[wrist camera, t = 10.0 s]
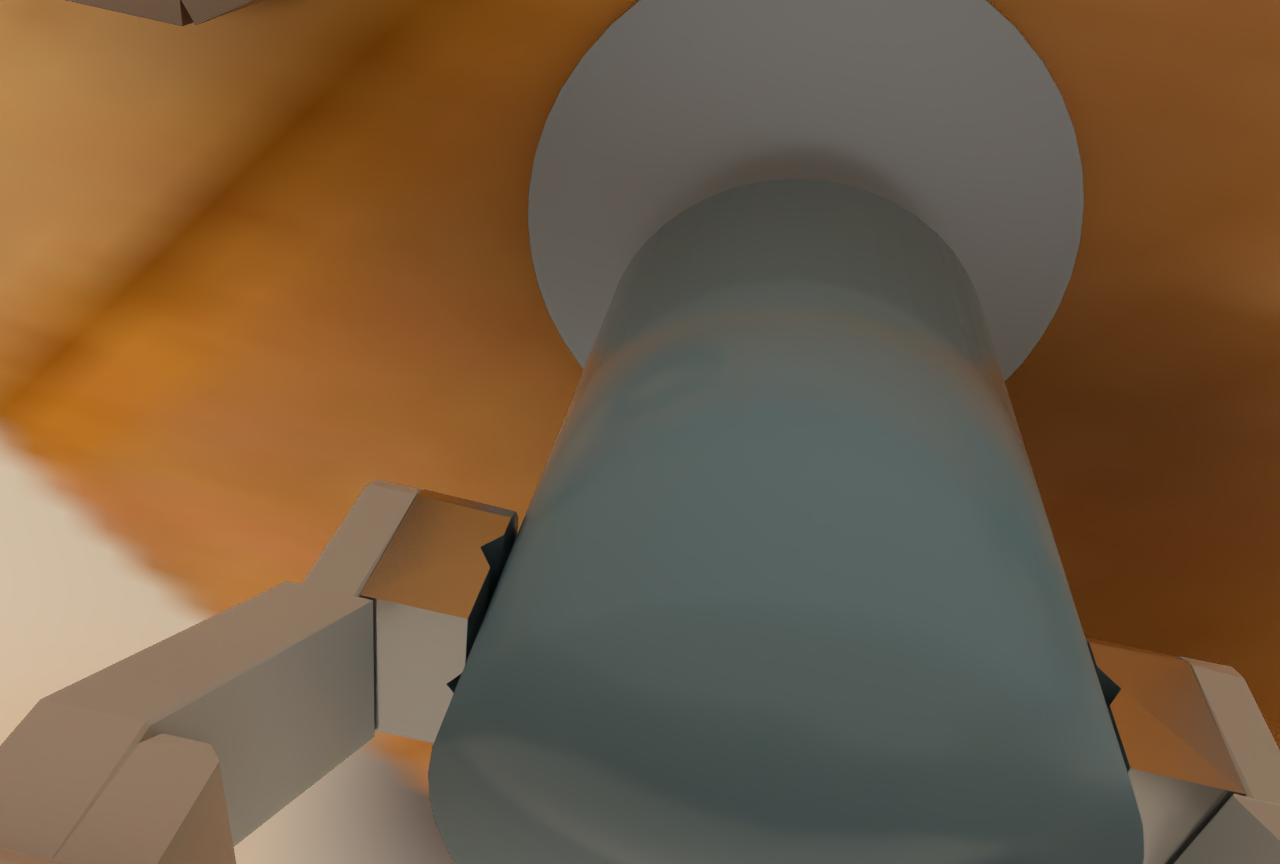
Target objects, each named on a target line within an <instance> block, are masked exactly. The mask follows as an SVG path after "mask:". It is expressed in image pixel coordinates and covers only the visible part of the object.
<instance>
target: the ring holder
mask: <svg viewBox="0 0 1280 864" xmlns="http://www.w3.org/2000/svg"><path fill="white" fill-rule="evenodd" d="M67 1H71V2H76V3H80V4H85V5H89V6H94V7H98V8H103V9H107V10H112V11H116V12H121V13H125V14H130V15H134V16H138V17H143V18H147V19H152V20H156V21H161V22H165V23H170V24H174V25H179V26H185V25H187V24H190V23H193V22H194V24H195V25H198V24H200V23H203V22H206V21H208V20H211V19H214V18H216V17H219V16H222V15H224V14H227V13H230V12H232V11H235V10H238V9H240V8H243V7H245V6H248V5H251V4H253V3H256V2H259V1H261V0H67Z"/></svg>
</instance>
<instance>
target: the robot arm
mask: <svg viewBox="0 0 1280 864" xmlns="http://www.w3.org/2000/svg"><path fill="white" fill-rule="evenodd" d="M517 530H518V515H517V513H516V512H515V511H511V510H507V509H503V508H499V507H494V506H490V505H486V504H482V503H478V502H474V501H470V500H466V499H462V498H458V497H454V496H449V495H445V494H441V493H437V492H433V491H429V490H425V489H424V490H420V489H417V488H413V487H409V486H405V485H401V484H396V483H392V482H388V481H384V480H380V479H376V480H374V481H373V482H371V483H370V484H368V485H367V486H365V488H364V489H363V491H362V492H361V494H360V495H359V497H358V498H357V500H356V501H355V503H354V504H353V506H352V507H351V509H350V510H349V512H348V513H347V515H346V516H345V518H344V520H343V521H342V523H341V524H340V526H339V527H338V529H337V530H336V532H335V533H334V535H333V536H332V538H331V539H330V541H329V542H328V544H327V545H326V547H325V548H324V550H323V551H322V553H321V554H320V556H319V558H318V559H317V561H316V562H315V564H314V565H313V567H312V568H311V570H310V571H309V573H308V574H307V576H306V577H305V579H304V580H303V582H302V583H301V584H299V583H294V582H289V581H285V582H283V583H281V584H279V585H277V586H275V587H273V588H271V589H269V590H267V591H265V592H263V593H261V594H258V595H256V596H254V597H252V598H250V599H248V600H246V601H244V602H242V603H240V604H238V605H236V606H234V607H231V608H229V609H227V610H225V611H223V612H221V613H219V614H217V615H215V616H213V617H211V618H209V619H207V620H204V621H202V622H200V623H198V624H196V625H194V626H192V627H190V628H188V629H186V630H184V631H182V632H180V633H177V634H175V635H173V636H171V637H169V638H167V639H165V640H163V641H161V642H159V643H157V644H155V645H153V646H151V647H148V648H146V649H144V650H142V651H140V652H138V653H136V654H134V655H132V656H130V657H128V658H126V659H123V660H121V661H119V662H117V663H115V664H113V665H111V666H109V667H107V668H105V669H103V670H101V671H99V672H97V673H94V674H92V675H90V676H89V677H86V678H84V679H82V680H80V681H78V682H76V683H74V684H72V685H70V686H67V687H65V688H63V689H61V690H59V691H57V692H55V693H53V694H51V695H49V696H47V697H45V698H43V699H41V700H40V701H39V702H38V703H37V704H36V705H35V707H34V708H33V709H32V710H31V711H30V712H29V713H28V715H27V716H26V717H25V718H24V719H23V720H22V721H21V723H20V724H19V725H18V726H17V727H16V728H15V729H14V731H13V732H12V733H11V734H10V735H9V737H8V738H7V739H6V740H5V741H4V742H3V743H2V744H1V746H0V864H236V860H235V854H234V848H233V847H234V846H235V845H237V844H238V843H239V842H240V841H242V840H243V839H244V838H245V837H247V836H248V835H249V834H250V833H252V832H253V831H254V830H256V829H257V828H258V827H259V826H261V825H262V824H263V823H264V822H266V821H267V820H268V819H270V818H271V817H272V816H273V815H275V814H276V813H277V812H278V811H280V810H281V809H282V808H284V807H285V806H286V805H288V804H289V803H290V802H291V801H292V800H294V799H295V798H296V797H298V796H299V795H300V794H302V793H303V792H304V791H305V790H307V789H308V788H309V787H311V786H312V785H313V784H314V783H315V782H317V781H318V780H319V779H321V778H322V777H323V776H325V775H326V774H327V773H328V772H330V771H331V770H332V769H333V768H335V767H336V766H337V765H338V764H340V763H341V762H342V761H344V760H345V759H346V758H348V757H349V756H350V755H351V754H353V753H354V752H355V751H356V750H358V749H359V748H360V747H362V746H363V745H364V744H365V743H367V742H368V741H369V740H370V739H372V738H373V737H374V731H377V732H382V733H387V734H392V735H397V736H402V737H407V738H412V739H417V740H422V741H427V742H432V743H434V741H435V739H436V736H437V734H438V731H439V729H440V726H441V724H442V721H443V719H444V716H445V714H446V712H447V709H448V707H449V704H450V702H451V699H452V697H453V694H454V692H455V689H456V687H457V684H458V682H459V679H460V677H461V674H462V672H463V669H464V667H465V664H466V662H467V659H468V657H469V654H470V652H471V649H472V647H473V644H474V642H475V639H476V637H477V634H478V632H479V629H480V627H481V624H482V622H483V619H484V617H485V614H486V612H487V609H488V607H489V604H490V602H491V599H492V597H493V594H494V592H495V589H496V587H497V584H498V582H499V579H500V577H501V574H502V572H503V570H504V567H505V565H506V562H507V560H508V557H509V555H510V552H511V550H512V547H513V545H514V542H515V540H516V537H517ZM1085 639H1086V642H1087V645H1088V648H1089V651H1090V654H1091V658H1092V661H1093V664H1094V667H1095V670H1096V673H1097V677H1098V680H1099V683H1100V686H1101V689H1102V693H1103V696H1104V699H1105V702H1106V705H1107V708H1108V712H1109V715H1110V718H1111V721H1112V724H1113V727H1114V731H1115V734H1116V737H1117V740H1118V743H1119V747H1120V750H1121V753H1122V756H1123V759H1124V762H1125V766H1126V769H1127V772H1128V775H1129V778H1130V782H1131V785H1132V788H1133V791H1134V794H1135V798H1136V801H1137V805H1138V809H1139V813H1140V816H1141V820H1142V824H1143V832H1144V861H1143V864H1280V750H1279V748H1278V746H1277V744H1276V742H1275V740H1274V738H1273V736H1272V734H1271V732H1270V730H1269V728H1268V726H1267V724H1266V722H1265V720H1264V718H1263V716H1262V714H1261V712H1260V710H1259V707H1258V705H1257V703H1256V701H1255V699H1254V697H1253V695H1252V693H1251V691H1250V689H1249V687H1248V685H1247V683H1246V681H1245V679H1244V678H1243V676H1242V675H1241V674H1239V673H1238V672H1237V671H1236V670H1235V669H1234V668H1233V667H1231V666H1226V665H1221V664H1216V663H1211V662H1206V661H1201V660H1197V659H1192V658H1187V657H1182V656H1178V657H1175V656H1172V655H1168V654H1163V653H1158V652H1154V651H1149V650H1144V649H1140V648H1135V647H1130V646H1126V645H1121V644H1116V643H1111V642H1107V641H1102V640H1097V639H1093V638H1088V637H1085Z"/></svg>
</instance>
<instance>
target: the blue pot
mask: <svg viewBox="0 0 1280 864" xmlns="http://www.w3.org/2000/svg"><path fill="white" fill-rule="evenodd" d="M428 780H429V799H430V803H431V807H432V811H433V815H434V819H435V823H436V826H437V828H438V831H439V833H440V835H441V837H442V840H443V842H444V844H445V846H446V848H447V850H448V852H449V854H450V855H451V856H452V858H453V860H454V861H455V863H456V864H1143V861H1144V832H1143V824H1142V820H1141V816H1140V813H1139V809H1138V805H1137V801H1136V798H1135V794H1134V791H1133V788H1132V785H1131V782H1130V778H1129V775H1128V772H1127V769H1126V766H1125V762H1124V759H1123V756H1122V753H1121V750H1120V747H1119V743H1118V740H1117V737H1116V734H1115V731H1114V727H1113V724H1112V721H1111V718H1110V715H1109V712H1108V708H1107V705H1106V702H1105V699H1104V696H1103V693H1102V689H1101V686H1100V683H1099V680H1098V677H1097V673H1096V670H1095V667H1094V664H1093V661H1092V658H1091V654H1090V651H1089V648H1088V645H1087V642H1086V639H1085V635H1084V632H1083V629H1082V626H1081V623H1080V619H1079V616H1078V613H1077V610H1076V607H1075V604H1074V600H1073V597H1072V594H1071V591H1070V588H1069V585H1068V581H1067V578H1066V575H1065V572H1064V569H1063V565H1062V562H1061V559H1060V556H1059V553H1058V550H1057V546H1056V543H1055V540H1054V537H1053V534H1052V531H1051V527H1050V524H1049V521H1048V518H1047V515H1046V511H1045V508H1044V505H1043V502H1042V499H1041V496H1040V492H1039V489H1038V486H1037V483H1036V480H1035V477H1034V473H1033V470H1032V467H1031V464H1030V461H1029V457H1028V454H1027V451H1026V448H1025V445H1024V442H1023V438H1022V435H1021V432H1020V429H1019V426H1018V423H1017V419H1016V416H1015V413H1014V410H1013V407H1012V403H1011V400H1010V397H1009V394H1008V391H1007V388H1006V384H1005V381H1004V378H1003V375H1002V372H1001V369H1000V365H999V362H998V359H997V356H996V353H995V349H994V346H993V343H992V340H991V337H990V334H989V330H988V327H987V324H986V321H985V318H984V315H983V311H982V308H981V305H980V302H979V299H978V295H977V293H976V290H975V288H974V286H973V284H972V282H971V280H970V277H969V275H968V273H967V271H966V270H965V268H964V267H963V265H962V264H961V262H960V261H959V259H958V258H957V256H956V255H955V253H954V252H953V250H952V249H951V248H950V247H949V246H948V245H947V244H946V243H945V242H944V240H943V239H942V238H941V237H940V236H939V235H938V234H937V233H936V232H935V231H934V230H933V229H931V228H930V227H929V226H928V225H927V224H925V223H924V222H923V221H922V220H920V219H919V218H918V217H917V216H915V215H914V214H912V213H910V212H909V211H907V210H905V209H904V208H902V207H901V206H899V205H897V204H896V203H894V202H892V201H890V200H887V199H885V198H883V197H880V196H878V195H876V194H874V193H871V192H869V191H866V190H862V189H859V188H855V187H852V186H848V185H845V184H840V183H834V182H827V181H820V180H808V179H782V180H773V181H763V182H757V183H752V184H748V185H744V186H740V187H735V188H732V189H729V190H726V191H724V192H721V193H718V194H716V195H713V196H710V197H708V198H706V199H704V200H702V201H700V202H698V203H696V204H695V205H693V206H691V207H689V208H687V209H685V210H684V211H682V212H681V213H679V214H678V215H677V216H675V217H674V218H672V219H671V220H670V221H668V222H667V223H665V224H664V225H663V226H662V227H661V228H660V229H659V230H658V231H657V232H656V233H655V234H653V235H652V236H651V237H650V238H649V239H648V240H647V241H646V242H645V244H644V245H643V246H642V247H641V249H640V250H639V251H638V252H637V254H636V255H635V256H634V257H633V259H632V260H631V262H630V263H629V265H628V267H627V268H626V270H625V272H624V273H623V275H622V277H621V279H620V281H619V283H618V286H617V288H616V291H615V293H614V295H613V298H612V300H611V303H610V305H609V308H608V310H607V313H606V315H605V318H604V320H603V323H602V325H601V328H600V330H599V333H598V335H597V338H596V340H595V343H594V345H593V348H592V350H591V353H590V355H589V358H588V360H587V363H586V365H585V368H584V370H583V373H582V375H581V378H580V380H579V383H578V385H577V388H576V390H575V393H574V395H573V398H572V400H571V403H570V405H569V408H568V410H567V413H566V415H565V418H564V420H563V423H562V425H561V427H560V430H559V432H558V435H557V437H556V440H555V442H554V445H553V447H552V450H551V452H550V455H549V457H548V460H547V462H546V465H545V467H544V470H543V472H542V475H541V477H540V480H539V482H538V485H537V487H536V490H535V492H534V495H533V497H532V500H531V502H530V505H529V507H528V510H527V512H526V515H525V517H524V520H523V522H522V525H521V527H520V530H519V532H518V535H517V537H516V540H515V542H514V545H513V547H512V550H511V552H510V555H509V557H508V560H507V562H506V565H505V567H504V570H503V572H502V574H501V577H500V579H499V582H498V584H497V587H496V589H495V592H494V594H493V597H492V599H491V602H490V604H489V607H488V609H487V612H486V614H485V617H484V619H483V622H482V624H481V627H480V629H479V632H478V634H477V637H476V639H475V642H474V644H473V647H472V649H471V652H470V654H469V657H468V659H467V662H466V664H465V667H464V669H463V672H462V674H461V677H460V679H459V682H458V684H457V687H456V689H455V692H454V694H453V697H452V699H451V702H450V704H449V707H448V709H447V712H446V714H445V716H444V719H443V721H442V724H441V726H440V729H439V731H438V734H437V736H436V739H435V741H434V744H433V747H432V753H431V759H430V765H429V771H428Z"/></svg>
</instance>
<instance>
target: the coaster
mask: <svg viewBox="0 0 1280 864" xmlns="http://www.w3.org/2000/svg"><path fill="white" fill-rule="evenodd" d="M782 179H808V180H820V181H827V182H834V183H840V184H845V185H848V186H852V187H855V188H859V189H862V190H866V191H869V192H871V193H874V194H876V195H878V196H880V197H883V198H885V199H887V200H890V201H892V202H894V203H896V204H897V205H899V206H901V207H902V208H904V209H905V210H907V211H909V212H910V213H912V214H914V215H915V216H917V217H918V218H919V219H920V220H922V221H923V222H924V223H925V224H927V225H928V226H929V227H930V228H931V229H933V230H934V231H935V232H936V233H937V234H938V235H939V236H940V237H941V238H942V239H943V240H944V242H945V243H946V244H947V245H948V246H949V247H950V248H951V249H952V250H953V252H954V253H955V255H956V256H957V258H958V259H959V261H960V262H961V264H962V265H963V267H964V268H965V270H966V271H967V273H968V275H969V277H970V280H971V282H972V284H973V286H974V288H975V290H976V293H977V295H978V299H979V302H980V305H981V308H982V311H983V315H984V318H985V321H986V324H987V327H988V330H989V334H990V337H991V340H992V343H993V346H994V349H995V353H996V356H997V359H998V362H999V365H1000V369H1001V372H1002V375H1003V378H1004V381H1006V380H1007V379H1008V378H1009V377H1010V376H1011V375H1012V374H1013V373H1014V372H1015V371H1016V369H1017V368H1018V367H1019V366H1020V365H1021V364H1022V363H1023V362H1024V360H1025V359H1026V358H1027V356H1028V355H1029V354H1030V352H1031V351H1032V350H1033V348H1034V347H1035V346H1036V344H1037V343H1038V341H1039V340H1040V339H1041V337H1042V336H1043V334H1044V332H1045V331H1046V329H1047V327H1048V325H1049V323H1050V322H1051V320H1052V318H1053V316H1054V315H1055V313H1056V311H1057V309H1058V308H1059V305H1060V303H1061V300H1062V298H1063V295H1064V293H1065V290H1066V288H1067V285H1068V283H1069V280H1070V278H1071V275H1072V272H1073V268H1074V264H1075V260H1076V256H1077V252H1078V248H1079V244H1080V239H1081V229H1082V220H1083V210H1084V192H1083V171H1082V164H1081V159H1080V154H1079V149H1078V144H1077V139H1076V134H1075V130H1074V127H1073V124H1072V122H1071V119H1070V116H1069V114H1068V111H1067V108H1066V105H1065V103H1064V100H1063V97H1062V95H1061V93H1060V91H1059V90H1058V88H1057V86H1056V84H1055V83H1054V81H1053V79H1052V77H1051V75H1050V74H1049V72H1048V70H1047V68H1046V66H1045V65H1044V63H1043V61H1042V60H1041V59H1040V58H1039V56H1038V55H1037V54H1036V52H1035V51H1034V50H1033V49H1032V47H1031V46H1030V45H1029V44H1028V42H1027V41H1026V40H1025V39H1024V37H1023V36H1022V35H1021V33H1020V32H1019V31H1018V30H1017V29H1016V27H1015V26H1014V25H1013V24H1012V23H1011V22H1010V21H1009V20H1008V19H1007V18H1006V17H1005V16H1004V15H1003V14H1002V13H1000V12H999V11H998V10H997V9H996V8H995V7H994V6H993V5H992V4H991V3H990V2H989V1H988V0H638V1H637V2H636V3H635V4H634V5H632V6H631V7H630V8H629V9H628V10H627V11H625V12H624V13H623V14H622V15H621V16H620V17H618V18H617V19H616V20H615V21H614V22H613V23H612V24H611V25H610V27H609V28H608V29H607V30H606V31H605V32H604V33H603V34H602V36H601V37H600V38H599V39H598V40H597V41H596V42H595V44H594V45H593V46H592V47H591V48H590V49H589V50H588V51H587V53H586V54H585V55H584V56H583V57H582V59H581V60H580V62H579V63H578V65H577V66H576V68H575V69H574V71H573V72H572V74H571V75H570V77H569V78H568V80H567V81H566V83H565V84H564V86H563V87H562V89H561V91H560V93H559V95H558V97H557V99H556V101H555V103H554V105H553V107H552V109H551V111H550V113H549V116H548V118H547V120H546V122H545V125H544V128H543V131H542V135H541V138H540V141H539V144H538V147H537V150H536V153H535V158H534V163H533V169H532V175H531V180H530V186H529V204H528V228H529V239H530V249H531V256H532V260H533V265H534V269H535V273H536V278H537V282H538V285H539V288H540V291H541V294H542V296H543V299H544V302H545V304H546V307H547V310H548V312H549V315H550V316H551V318H552V320H553V322H554V324H555V326H556V328H557V330H558V332H559V334H560V336H561V337H562V339H563V341H564V342H565V344H566V345H567V347H568V348H569V350H570V351H571V353H572V354H573V355H574V357H575V358H576V360H577V361H578V363H579V364H580V366H581V367H582V368H583V369H584V368H585V365H586V363H587V360H588V358H589V355H590V353H591V350H592V348H593V345H594V343H595V340H596V338H597V335H598V333H599V330H600V328H601V325H602V323H603V320H604V318H605V315H606V313H607V310H608V308H609V305H610V303H611V300H612V298H613V295H614V293H615V291H616V288H617V286H618V283H619V281H620V279H621V277H622V275H623V273H624V272H625V270H626V268H627V267H628V265H629V263H630V262H631V260H632V259H633V257H634V256H635V255H636V254H637V252H638V251H639V250H640V249H641V247H642V246H643V245H644V244H645V242H646V241H647V240H648V239H649V238H650V237H651V236H652V235H653V234H655V233H656V232H657V231H658V230H659V229H660V228H661V227H662V226H663V225H664V224H665V223H667V222H668V221H670V220H671V219H672V218H674V217H675V216H677V215H678V214H679V213H681V212H682V211H684V210H685V209H687V208H689V207H691V206H693V205H695V204H696V203H698V202H700V201H702V200H704V199H706V198H708V197H710V196H713V195H716V194H718V193H721V192H724V191H726V190H729V189H732V188H735V187H740V186H744V185H748V184H752V183H757V182H763V181H773V180H782Z"/></svg>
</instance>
